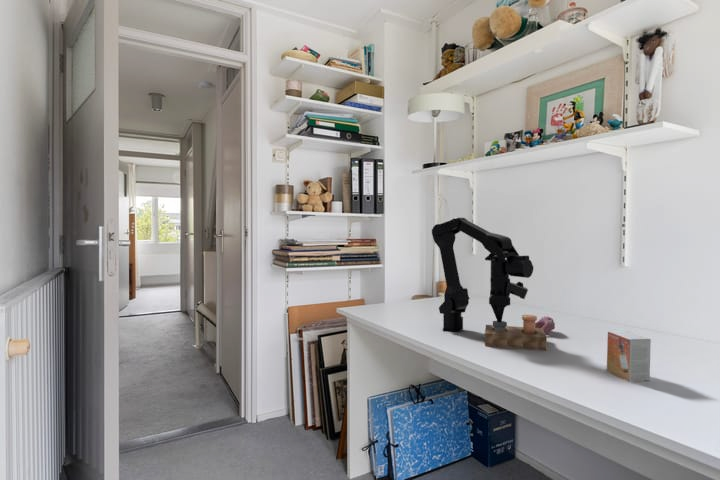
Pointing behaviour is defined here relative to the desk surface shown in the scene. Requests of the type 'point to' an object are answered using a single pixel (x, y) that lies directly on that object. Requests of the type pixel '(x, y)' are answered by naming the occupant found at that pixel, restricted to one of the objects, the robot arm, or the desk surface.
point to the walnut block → (516, 338)
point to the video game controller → (545, 324)
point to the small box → (628, 355)
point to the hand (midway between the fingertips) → (499, 322)
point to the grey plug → (500, 326)
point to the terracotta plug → (529, 323)
